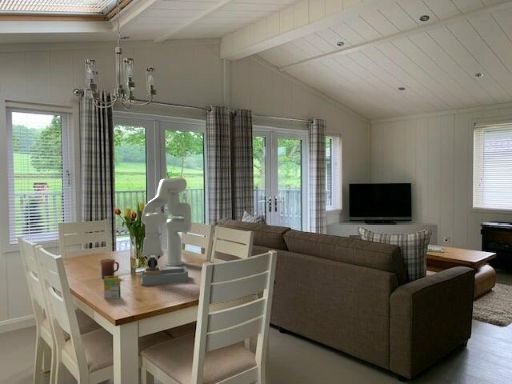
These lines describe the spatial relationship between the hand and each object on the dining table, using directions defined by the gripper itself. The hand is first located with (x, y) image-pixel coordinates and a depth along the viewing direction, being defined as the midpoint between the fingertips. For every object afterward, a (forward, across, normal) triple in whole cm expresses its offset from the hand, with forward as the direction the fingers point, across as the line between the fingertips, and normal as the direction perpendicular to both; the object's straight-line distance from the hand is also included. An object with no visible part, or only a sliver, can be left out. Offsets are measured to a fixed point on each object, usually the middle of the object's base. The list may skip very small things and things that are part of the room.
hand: (152, 266), depth 229 cm
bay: (+9, -7, 0) cm, 11 cm away
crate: (+7, 0, 0) cm, 7 cm away
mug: (+9, +24, -17) cm, 31 cm away
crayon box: (+9, +20, +25) cm, 33 cm away
